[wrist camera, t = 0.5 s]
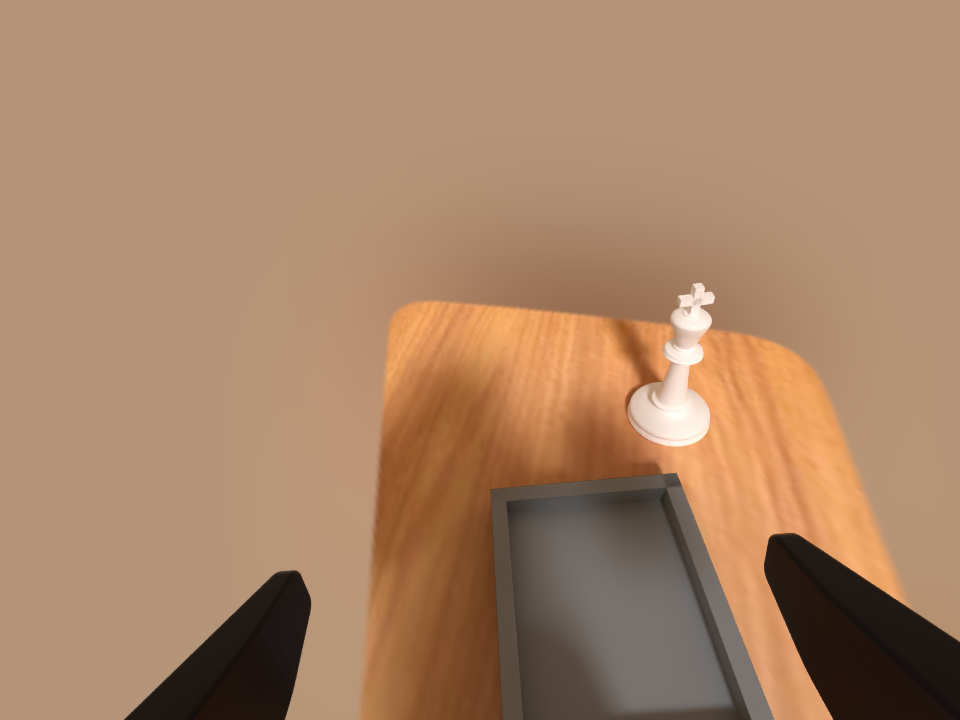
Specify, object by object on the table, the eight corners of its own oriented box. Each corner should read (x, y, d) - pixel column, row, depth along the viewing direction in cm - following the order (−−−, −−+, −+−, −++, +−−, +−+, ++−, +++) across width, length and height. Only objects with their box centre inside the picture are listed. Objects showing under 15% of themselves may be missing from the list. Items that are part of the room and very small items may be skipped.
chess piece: (722, 442, 28) (774, 309, 21) (640, 451, 28) (666, 322, 22) (691, 384, 32) (727, 254, 25) (618, 392, 32) (634, 266, 25)
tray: (777, 776, 17) (793, 769, 16) (509, 789, 18) (505, 784, 17) (670, 491, 26) (676, 472, 25) (493, 506, 27) (490, 489, 26)
